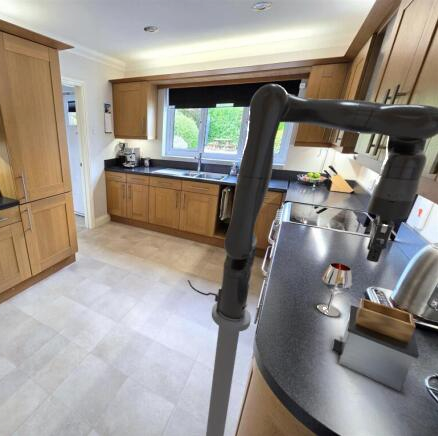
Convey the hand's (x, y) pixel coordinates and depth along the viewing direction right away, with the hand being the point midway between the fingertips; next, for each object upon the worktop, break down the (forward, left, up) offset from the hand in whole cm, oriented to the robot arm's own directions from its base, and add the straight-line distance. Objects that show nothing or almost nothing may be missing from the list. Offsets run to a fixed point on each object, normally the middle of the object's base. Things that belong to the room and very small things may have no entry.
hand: (371, 255), depth 65 cm
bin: (+6, -3, -30) cm, 30 cm away
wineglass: (-5, +16, -30) cm, 34 cm away
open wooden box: (+6, -3, -18) cm, 19 cm away
